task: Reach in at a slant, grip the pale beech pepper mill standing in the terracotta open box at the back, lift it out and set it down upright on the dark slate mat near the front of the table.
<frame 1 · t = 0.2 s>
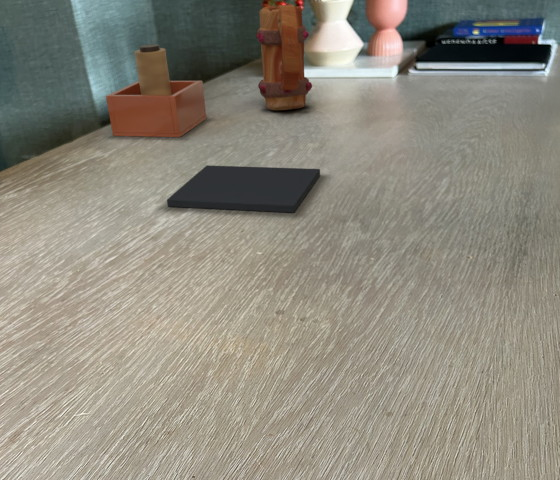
mat: (246, 190, 75), on the table
terracotta open box: (161, 127, 101), on the table
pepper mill: (160, 123, 100), resting on terracotta open box
mug: (287, 113, 104), on the table
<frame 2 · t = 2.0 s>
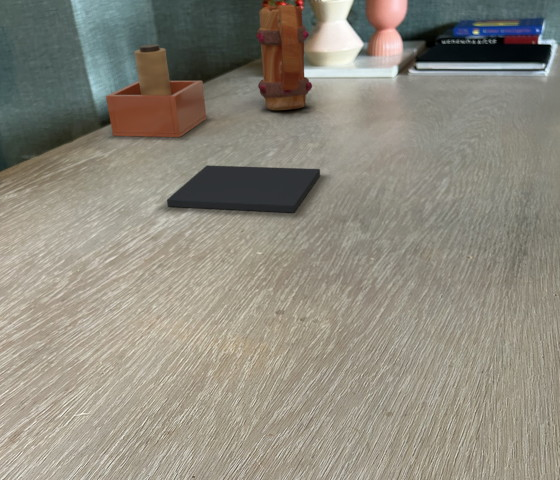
nothing on the table moved.
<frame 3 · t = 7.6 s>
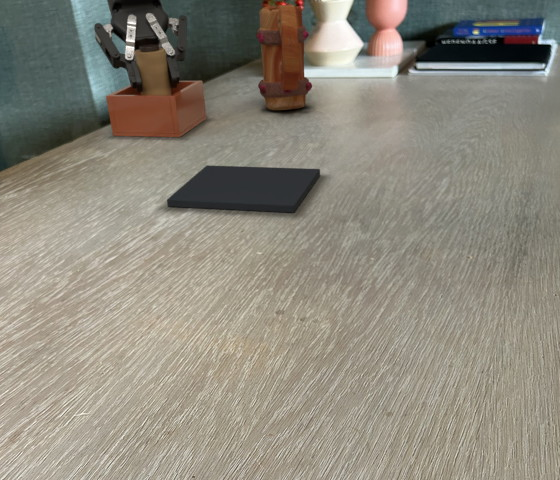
hand: (157, 85, 96), 6 cm above the table, tool tilted 45°, fingers closed on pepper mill, 4 cm apart
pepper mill: (160, 123, 100), point 1 cm above the table, touching terracotta open box, gripper
everything else where it was.
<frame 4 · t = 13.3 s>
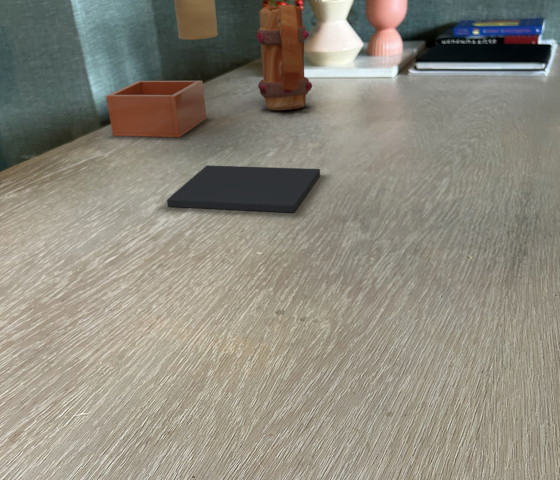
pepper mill: (198, 36, 75), point 14 cm above the table, touching gripper
everything else where it was.
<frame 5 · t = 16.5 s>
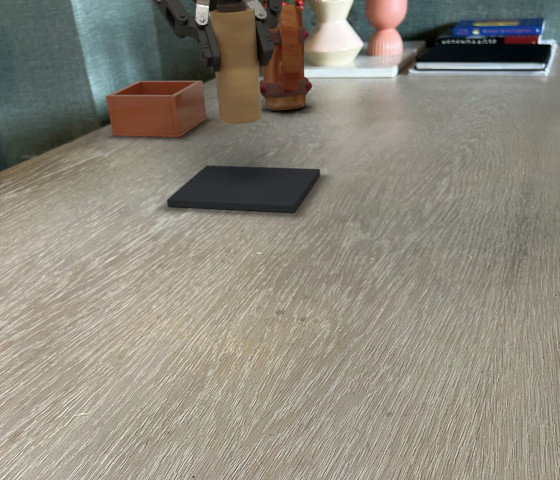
hand: (241, 63, 66), 13 cm above the table, tool tilted 45°, fingers closed on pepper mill, 4 cm apart
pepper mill: (241, 118, 70), point 8 cm above the table, touching gripper
everything else where it was.
when the fingers open (6 cm above the table, at t = 18.9 s): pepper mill stays where it is, resting on mat.
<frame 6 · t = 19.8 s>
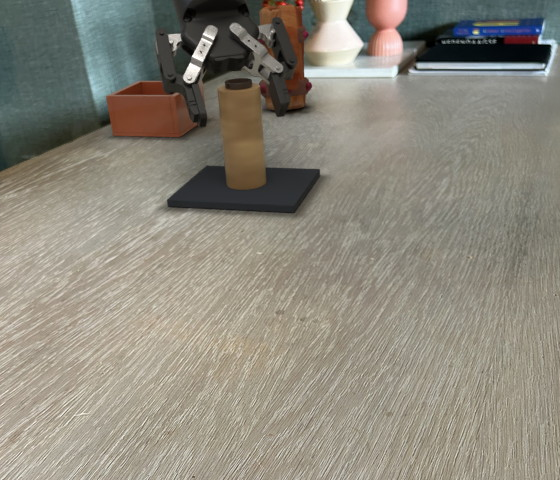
hand: (243, 117, 69), 8 cm above the table, tool tilted 45°, fingers open, 8 cm apart
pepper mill: (246, 183, 74), point 1 cm above the table, touching mat
everything else where it was.
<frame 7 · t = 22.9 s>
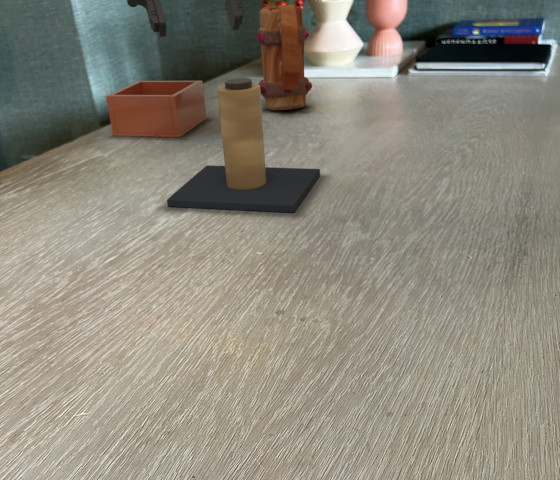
hand: (200, 28, 75), 15 cm above the table, tool tilted 45°, fingers open, 8 cm apart
nothing on the table moved.
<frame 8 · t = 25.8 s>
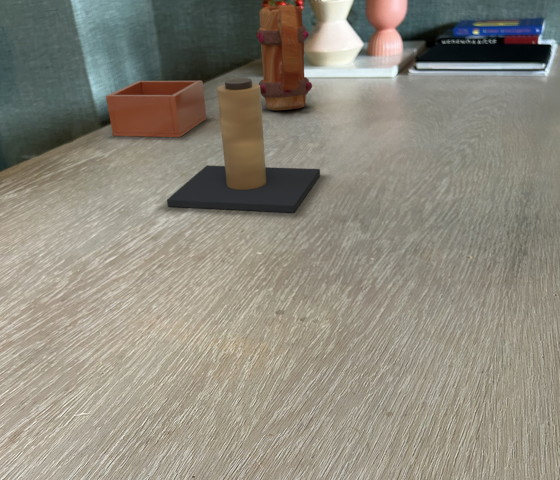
nothing on the table moved.
at the end: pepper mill inside the target area on the mat (0.0 cm from its centre), point 0.8 cm above the mat's base; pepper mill tilted 0°; the gripper is holding nothing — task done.
